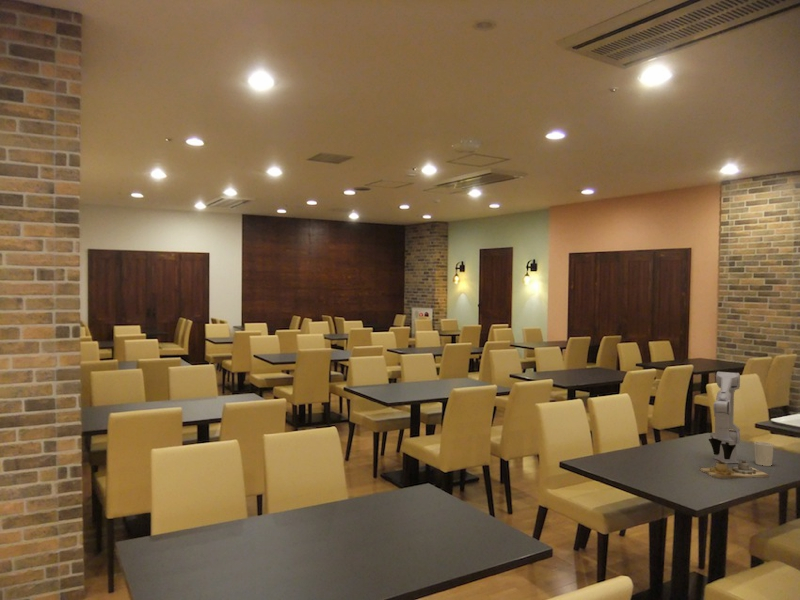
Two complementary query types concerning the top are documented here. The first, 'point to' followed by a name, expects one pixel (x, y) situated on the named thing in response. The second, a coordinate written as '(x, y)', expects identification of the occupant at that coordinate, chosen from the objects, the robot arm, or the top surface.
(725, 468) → the brass gear
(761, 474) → the gear board
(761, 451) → the white cup
